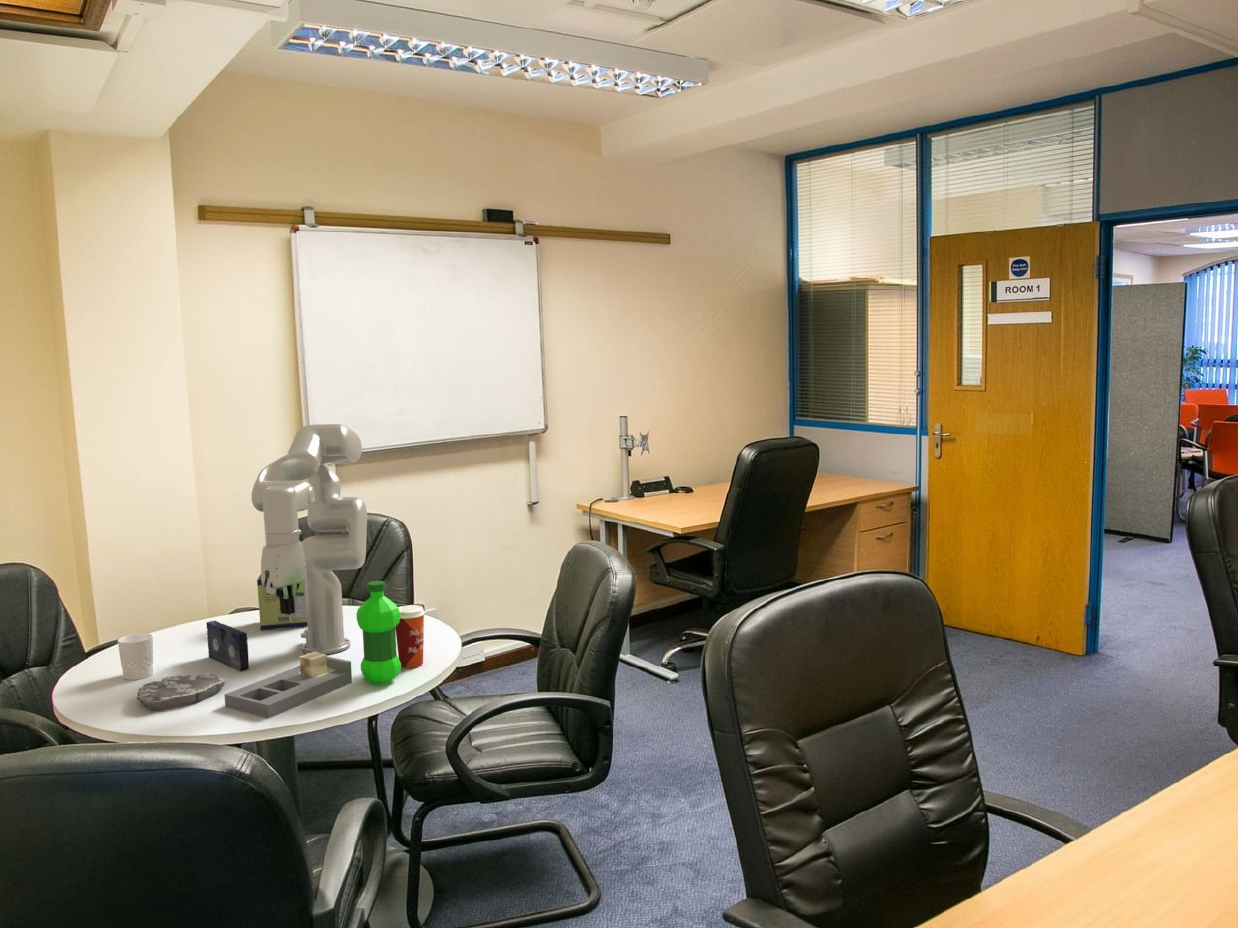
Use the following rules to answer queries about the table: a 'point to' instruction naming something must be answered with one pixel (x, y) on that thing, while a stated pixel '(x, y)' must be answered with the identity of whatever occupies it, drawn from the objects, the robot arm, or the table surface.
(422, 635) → the coffee cup
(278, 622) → the protein box
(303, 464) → the robot arm
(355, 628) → the table surface
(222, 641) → the vhs cassette tape
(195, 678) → the brain slice
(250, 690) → the box
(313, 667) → the birch block
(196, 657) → the table surface
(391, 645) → the plastic bottle
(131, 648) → the white cup
